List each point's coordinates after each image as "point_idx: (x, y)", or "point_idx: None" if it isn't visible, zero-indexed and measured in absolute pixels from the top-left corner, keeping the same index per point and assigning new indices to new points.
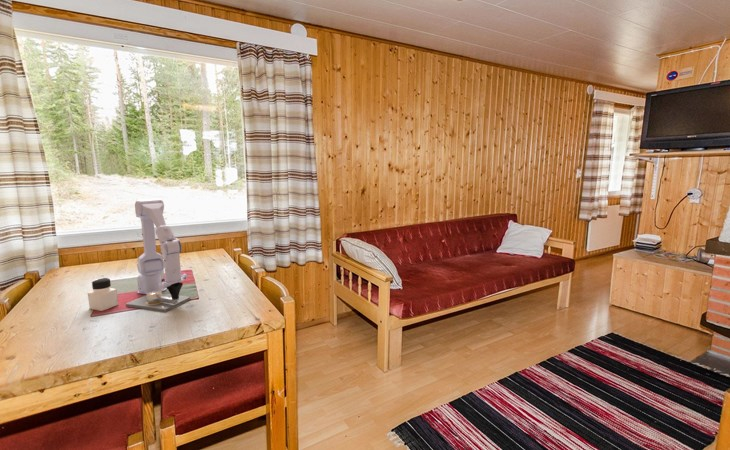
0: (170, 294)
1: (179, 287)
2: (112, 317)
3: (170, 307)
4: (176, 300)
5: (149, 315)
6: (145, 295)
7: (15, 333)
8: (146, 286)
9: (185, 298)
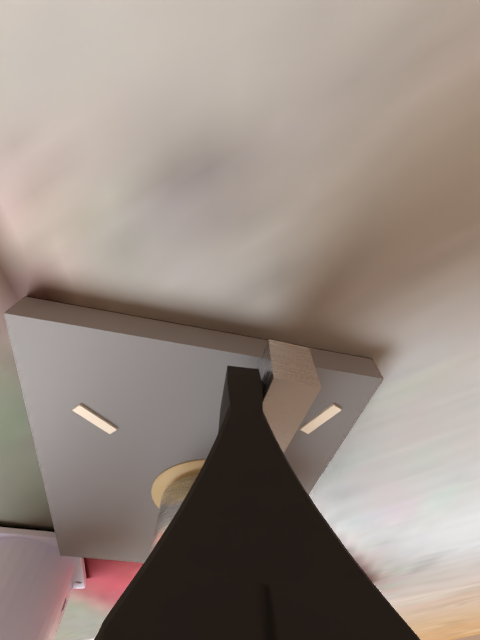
0: (44, 480)
1: (256, 589)
2: (401, 539)
3: (315, 362)
4: (293, 369)
5: (419, 424)
6: (124, 560)
7: (470, 630)
8: (54, 620)
9: (70, 340)
